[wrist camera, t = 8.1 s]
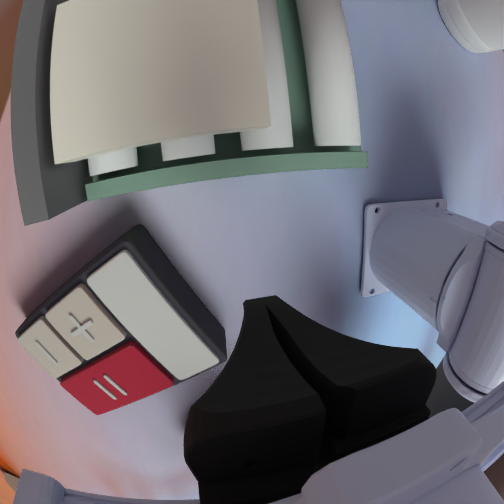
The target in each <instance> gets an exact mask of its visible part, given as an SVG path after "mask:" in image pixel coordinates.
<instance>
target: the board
mask: <svg viewBox="0 0 504 504" xmlns="http://www.w3.org/2000/svg"><path fill="white" fill-rule="evenodd" d="M50 113H51V131H52V143H53V153H54V162H55V164H61V163H69V162H76V161H79V160H83V159H87V158H91V157H94V156H98V155H102V154H107V153H111V152H115V151H120V150H124V149H129V148H133V147H138V146H143V145H149V144H154V143H160V142H165V141H171V140H178V139H184V138H191V137H198V136H206V135H214V134H223V133H233V132H244V131H257V130H263V129H265V128H268V127H271V116H270V106H269V96H268V87H267V77H266V68H265V59H264V51H263V42H262V34H261V26H260V18H259V11H258V3H257V0H69V1H66V2H64V3H62V4H59V5H57V9H56V15H55V22H54V30H53V39H52V50H51V67H50Z"/></svg>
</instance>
